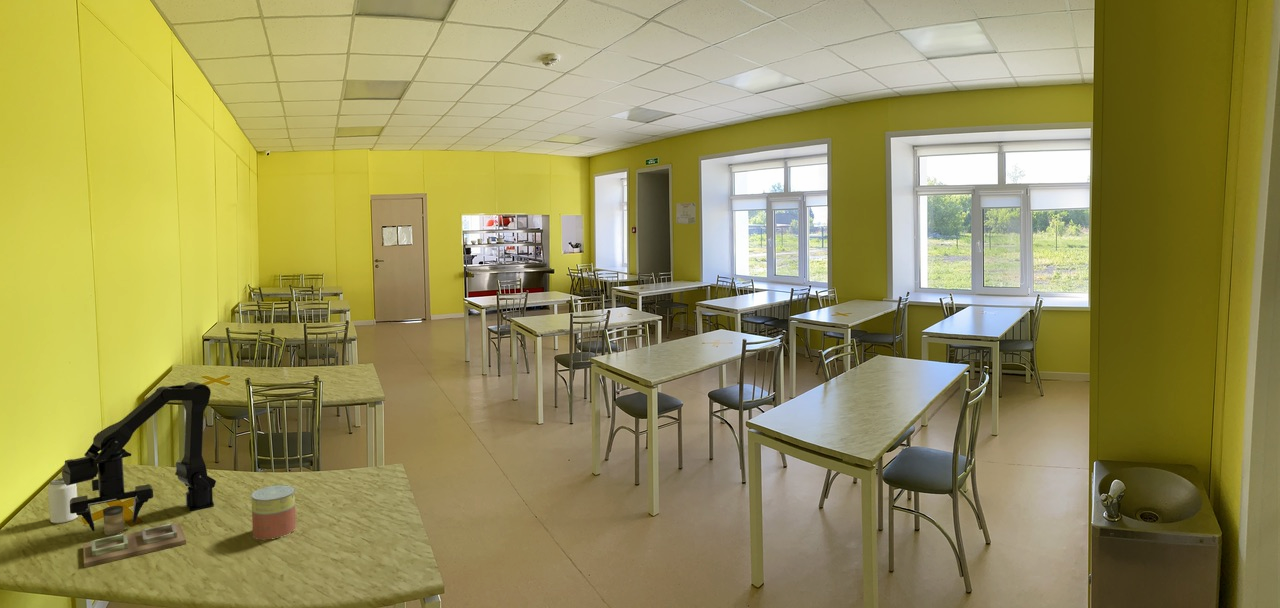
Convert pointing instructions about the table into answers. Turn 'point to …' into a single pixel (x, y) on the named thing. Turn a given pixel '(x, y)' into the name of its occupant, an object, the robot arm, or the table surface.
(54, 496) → the can
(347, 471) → the table surface
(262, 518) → the canned food
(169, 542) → the board
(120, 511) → the cylinder
